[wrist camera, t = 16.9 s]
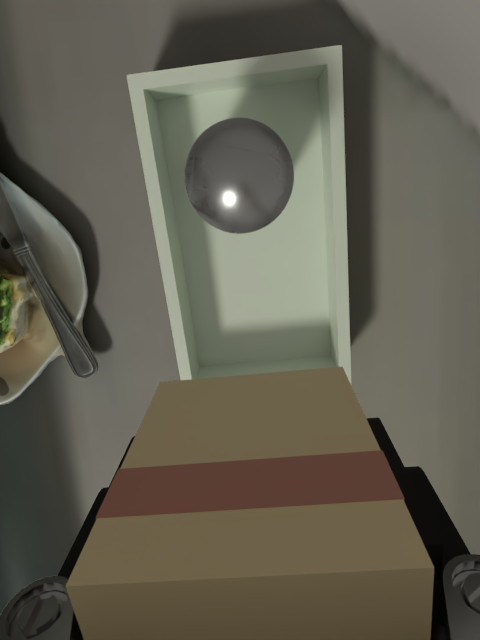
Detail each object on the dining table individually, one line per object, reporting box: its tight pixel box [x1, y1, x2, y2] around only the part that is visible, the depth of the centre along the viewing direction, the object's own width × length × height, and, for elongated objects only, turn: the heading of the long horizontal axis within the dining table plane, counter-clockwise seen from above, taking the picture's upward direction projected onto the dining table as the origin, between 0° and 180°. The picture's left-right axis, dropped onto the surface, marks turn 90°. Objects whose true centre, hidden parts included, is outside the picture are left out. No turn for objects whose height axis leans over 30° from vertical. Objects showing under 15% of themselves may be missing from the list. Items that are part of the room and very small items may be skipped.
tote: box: [127, 45, 351, 384], centre depth 24 cm, size 10×18×4 cm, turn 6°
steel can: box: [185, 118, 294, 234], centre depth 21 cm, size 5×5×7 cm
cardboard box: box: [65, 366, 434, 640], centre depth 9 cm, size 5×5×6 cm
